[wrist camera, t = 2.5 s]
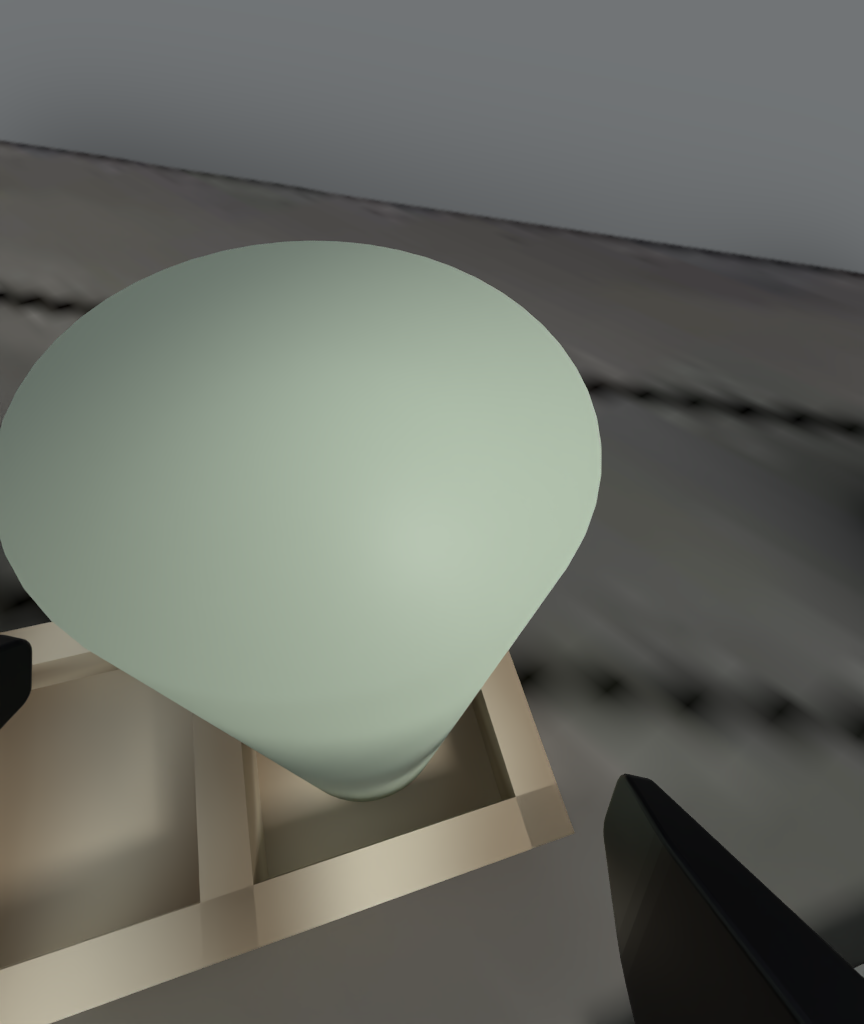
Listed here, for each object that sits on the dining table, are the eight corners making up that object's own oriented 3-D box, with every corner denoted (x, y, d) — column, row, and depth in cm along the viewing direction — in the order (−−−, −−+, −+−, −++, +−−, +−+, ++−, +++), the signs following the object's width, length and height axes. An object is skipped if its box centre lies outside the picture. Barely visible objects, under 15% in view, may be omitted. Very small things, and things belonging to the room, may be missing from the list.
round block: (300, 824, 14) (-76, 813, 3) (278, 661, 17) (30, 261, 5) (459, 773, 15) (714, 599, 4) (418, 625, 18) (491, 225, 6)
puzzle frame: (-141, 1078, 12) (-257, 1134, 10) (-61, 681, 16) (-128, 659, 14) (548, 832, 15) (574, 833, 13) (457, 565, 20) (466, 533, 18)
